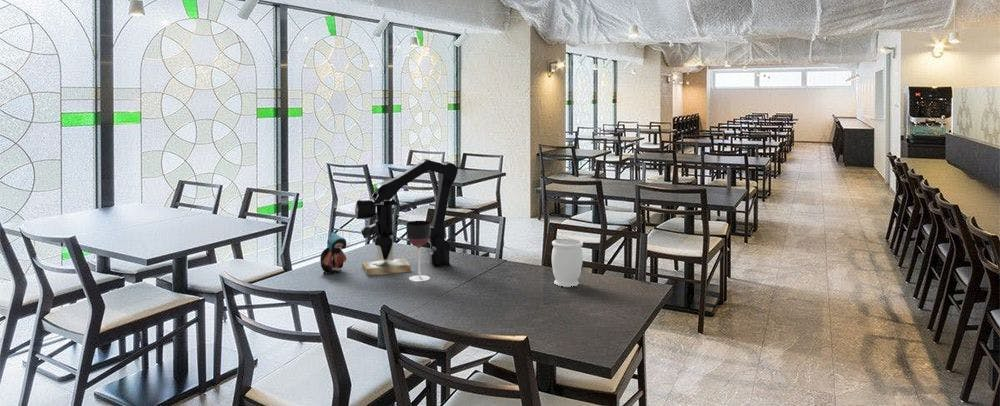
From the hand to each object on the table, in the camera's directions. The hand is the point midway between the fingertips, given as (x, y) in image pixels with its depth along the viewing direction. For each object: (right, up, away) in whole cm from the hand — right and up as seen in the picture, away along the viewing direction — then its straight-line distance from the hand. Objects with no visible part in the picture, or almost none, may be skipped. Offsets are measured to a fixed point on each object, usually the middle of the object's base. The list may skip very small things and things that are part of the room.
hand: (385, 258), depth 238 cm
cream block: (0, -2, -2) cm, 3 cm away
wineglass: (+14, -6, -9) cm, 18 cm away
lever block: (0, -4, +1) cm, 4 cm away
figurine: (-18, -5, -2) cm, 19 cm away
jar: (+65, -8, -16) cm, 68 cm away
